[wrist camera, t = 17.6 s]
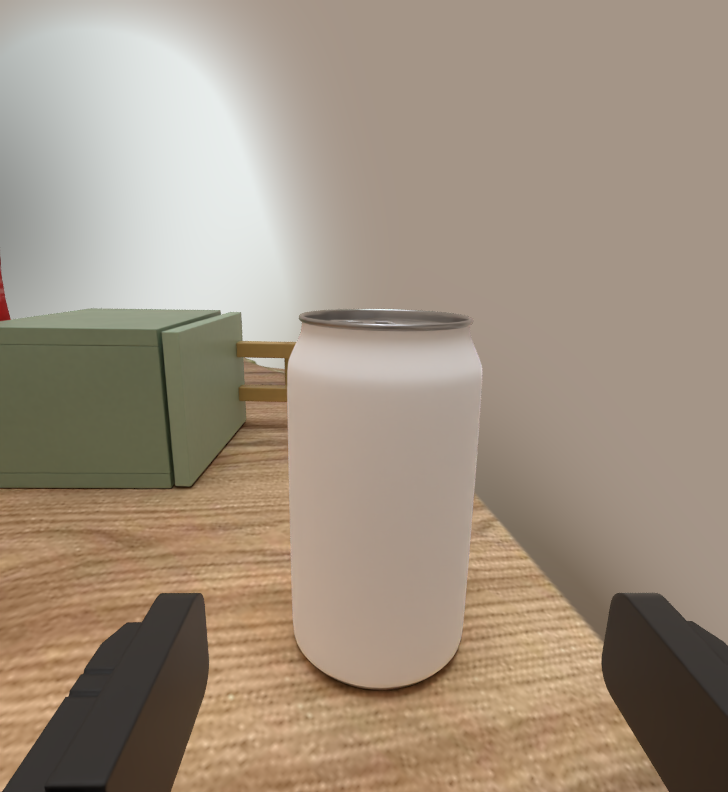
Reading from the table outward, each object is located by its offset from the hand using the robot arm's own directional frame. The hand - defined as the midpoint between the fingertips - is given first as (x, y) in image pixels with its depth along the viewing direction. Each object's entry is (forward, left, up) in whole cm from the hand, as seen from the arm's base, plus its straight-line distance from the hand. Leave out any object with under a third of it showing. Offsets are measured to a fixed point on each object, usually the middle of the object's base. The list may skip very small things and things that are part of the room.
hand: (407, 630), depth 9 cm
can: (-3, -7, -7) cm, 10 cm away
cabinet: (+5, -32, -7) cm, 33 cm away
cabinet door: (-3, -28, -6) cm, 29 cm away
